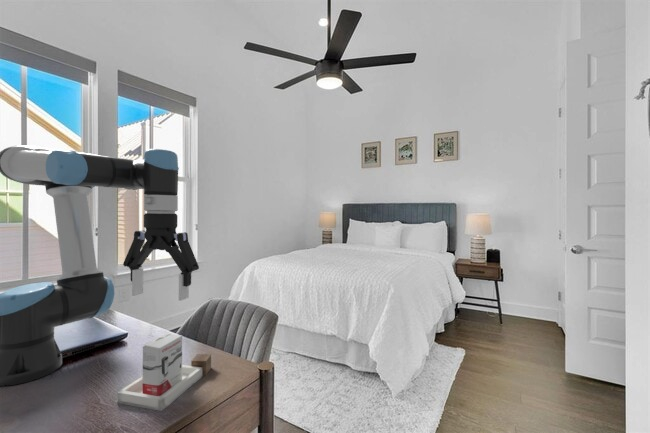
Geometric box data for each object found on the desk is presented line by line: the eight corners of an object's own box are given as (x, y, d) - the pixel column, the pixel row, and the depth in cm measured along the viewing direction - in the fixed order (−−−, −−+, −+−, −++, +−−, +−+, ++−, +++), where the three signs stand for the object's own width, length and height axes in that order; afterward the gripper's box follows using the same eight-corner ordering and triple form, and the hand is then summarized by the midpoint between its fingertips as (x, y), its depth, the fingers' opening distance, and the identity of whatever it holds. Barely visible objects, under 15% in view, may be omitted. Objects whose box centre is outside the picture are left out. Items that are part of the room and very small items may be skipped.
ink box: (158, 397, 74) (158, 348, 74) (141, 394, 76) (141, 345, 75) (183, 378, 83) (183, 334, 83) (167, 376, 84) (167, 332, 84)
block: (191, 375, 86) (191, 360, 86) (196, 368, 90) (196, 354, 90) (206, 375, 86) (206, 360, 86) (211, 368, 90) (211, 354, 90)
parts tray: (117, 403, 73) (117, 392, 73) (164, 371, 88) (164, 362, 88) (161, 411, 71) (161, 400, 71) (202, 376, 85) (202, 367, 85)
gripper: (107, 211, 78) (106, 296, 79) (195, 214, 73) (194, 305, 73) (131, 211, 86) (131, 289, 86) (214, 213, 80) (212, 296, 81)
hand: (160, 296), depth 80 cm, fingers open, 13 cm apart
